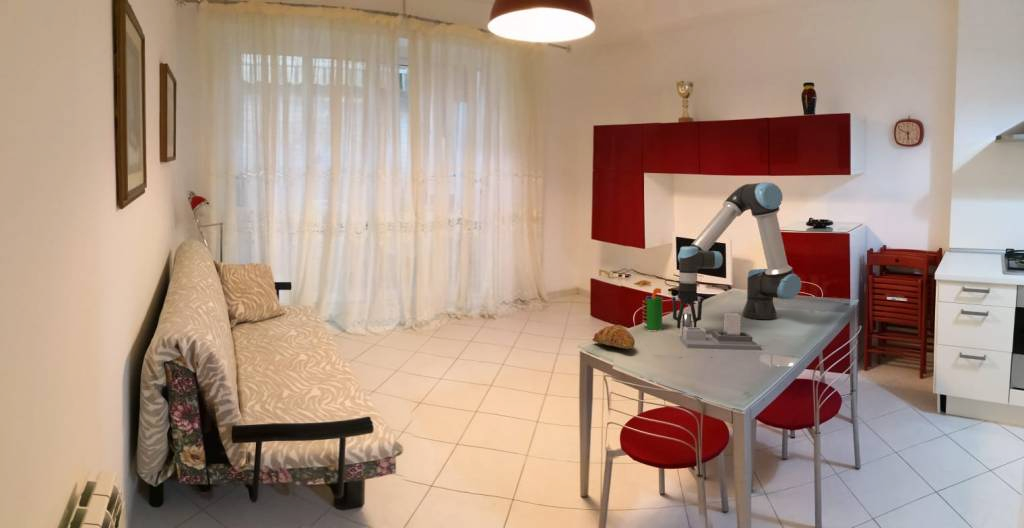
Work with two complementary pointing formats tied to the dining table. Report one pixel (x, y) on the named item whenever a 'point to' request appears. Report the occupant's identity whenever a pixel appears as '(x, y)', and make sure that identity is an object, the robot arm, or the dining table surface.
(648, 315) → the motor
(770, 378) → the dining table surface
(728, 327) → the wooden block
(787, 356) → the dining table surface
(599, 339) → the pastry
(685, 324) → the rounded metal cylinder
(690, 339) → the stand
